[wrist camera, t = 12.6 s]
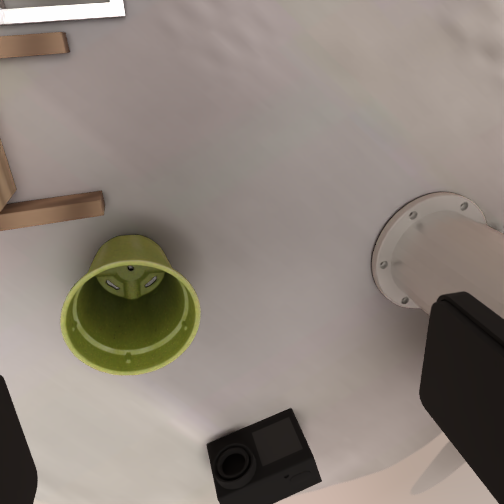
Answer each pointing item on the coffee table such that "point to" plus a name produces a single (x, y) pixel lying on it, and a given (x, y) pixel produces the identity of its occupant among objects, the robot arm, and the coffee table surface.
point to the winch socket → (61, 13)
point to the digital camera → (263, 462)
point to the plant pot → (130, 310)
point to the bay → (3, 184)
